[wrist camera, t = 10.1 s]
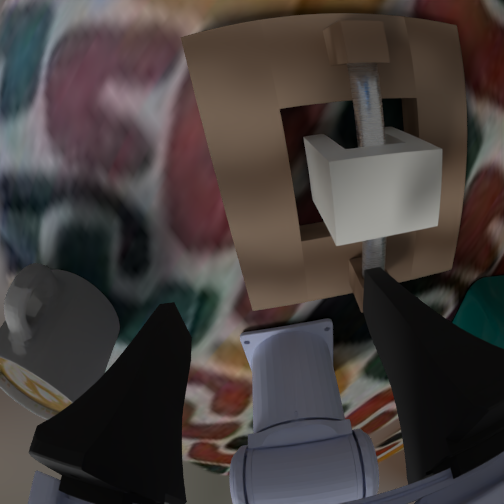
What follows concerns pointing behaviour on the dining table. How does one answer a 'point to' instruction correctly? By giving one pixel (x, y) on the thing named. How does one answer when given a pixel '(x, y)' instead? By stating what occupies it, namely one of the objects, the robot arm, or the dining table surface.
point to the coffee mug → (54, 338)
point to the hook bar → (368, 138)
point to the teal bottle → (484, 310)
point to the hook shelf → (314, 92)
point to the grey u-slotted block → (375, 186)
